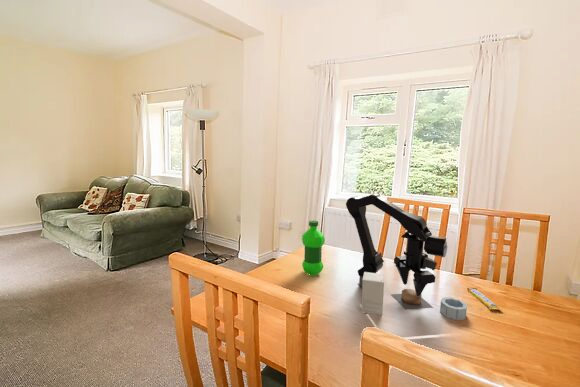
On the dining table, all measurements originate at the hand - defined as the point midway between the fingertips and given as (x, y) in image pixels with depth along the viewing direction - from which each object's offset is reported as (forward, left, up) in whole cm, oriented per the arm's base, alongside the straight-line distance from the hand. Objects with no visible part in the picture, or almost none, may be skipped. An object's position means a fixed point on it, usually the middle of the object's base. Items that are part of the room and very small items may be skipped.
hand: (411, 289), depth 109 cm
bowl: (+10, -10, -5) cm, 15 cm away
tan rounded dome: (0, 0, -4) cm, 4 cm away
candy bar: (+29, -2, -6) cm, 30 cm away
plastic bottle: (-32, +30, -5) cm, 44 cm away
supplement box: (-17, -3, -5) cm, 18 cm away
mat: (0, 0, -5) cm, 5 cm away
